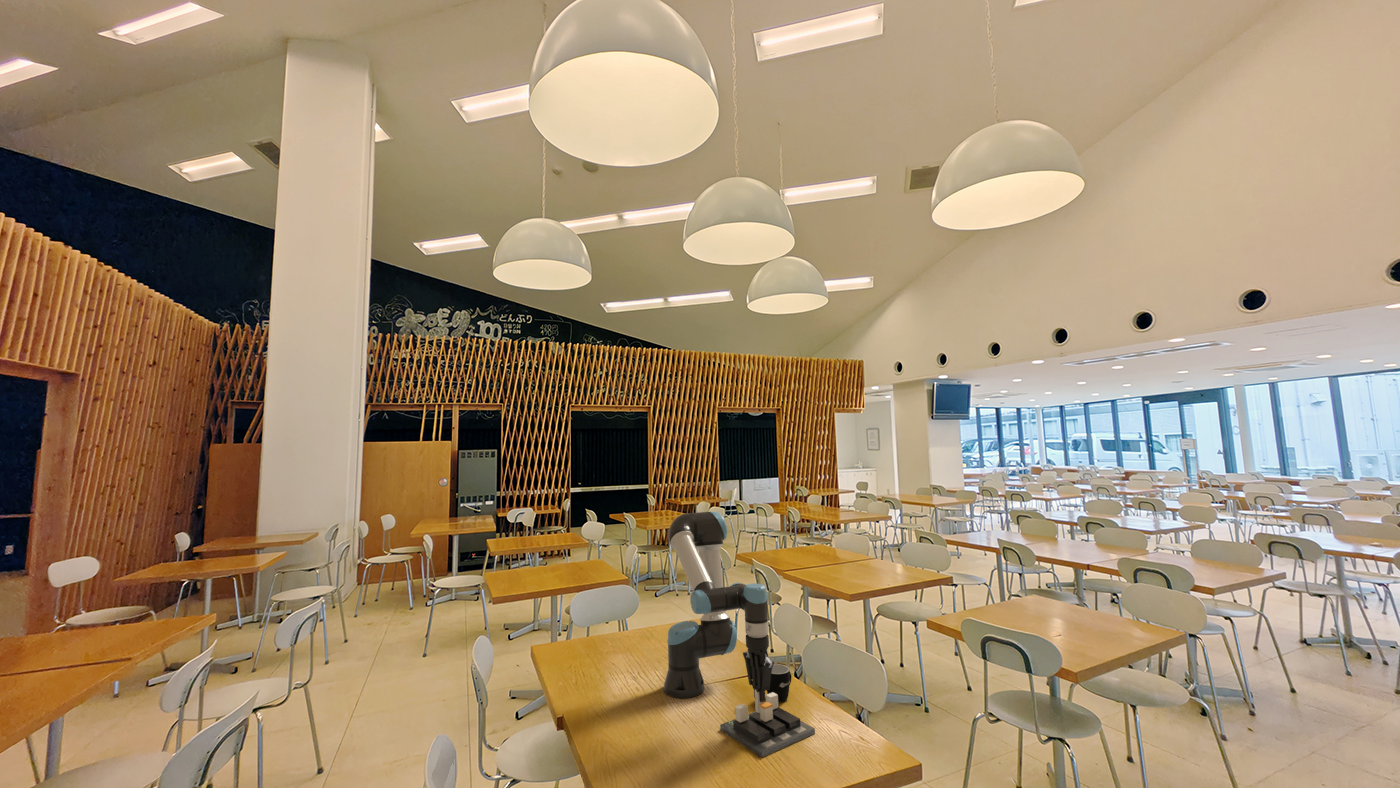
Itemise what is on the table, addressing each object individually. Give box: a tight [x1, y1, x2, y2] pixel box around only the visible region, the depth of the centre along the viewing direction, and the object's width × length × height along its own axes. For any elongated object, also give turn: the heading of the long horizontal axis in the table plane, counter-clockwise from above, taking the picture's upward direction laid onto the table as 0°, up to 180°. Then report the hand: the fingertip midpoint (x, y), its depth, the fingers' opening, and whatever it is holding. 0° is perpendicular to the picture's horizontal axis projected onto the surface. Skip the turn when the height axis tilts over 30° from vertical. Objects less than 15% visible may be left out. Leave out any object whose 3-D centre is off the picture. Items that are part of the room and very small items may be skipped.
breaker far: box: [765, 692, 779, 709], centre depth 176 cm, size 2×3×4 cm
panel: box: [719, 706, 816, 759], centre depth 168 cm, size 20×22×4 cm
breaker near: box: [734, 703, 749, 722], centre depth 168 cm, size 2×3×4 cm
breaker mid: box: [760, 701, 773, 722], centre depth 168 cm, size 2×3×4 cm
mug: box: [766, 663, 792, 703], centre depth 192 cm, size 12×9×10 cm
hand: (760, 710), depth 171 cm, fingers closed
